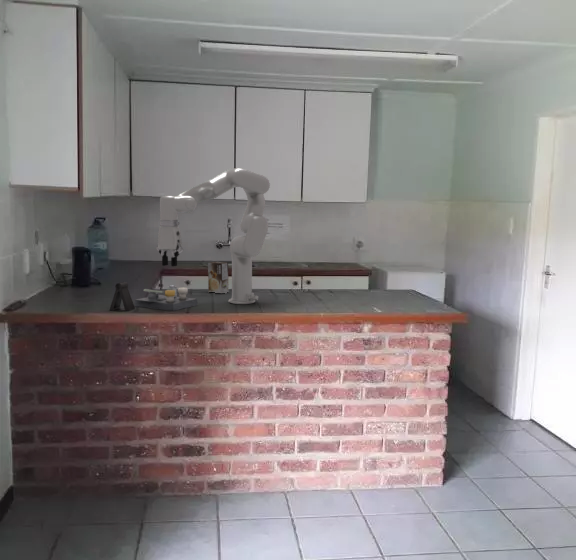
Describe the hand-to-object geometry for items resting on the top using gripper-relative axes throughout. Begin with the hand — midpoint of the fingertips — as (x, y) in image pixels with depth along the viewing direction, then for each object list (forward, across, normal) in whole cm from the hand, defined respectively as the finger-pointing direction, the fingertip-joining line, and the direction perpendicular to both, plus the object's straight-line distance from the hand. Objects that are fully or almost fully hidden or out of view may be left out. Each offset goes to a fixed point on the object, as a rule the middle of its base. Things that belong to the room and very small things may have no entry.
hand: (169, 265), depth 261 cm
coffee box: (+20, +8, -49) cm, 53 cm away
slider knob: (+16, +7, -10) cm, 20 cm away
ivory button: (+17, 0, -9) cm, 19 cm away
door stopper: (+20, +16, +13) cm, 28 cm away
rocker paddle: (+14, +14, -4) cm, 20 cm away
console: (+19, +6, -4) cm, 21 cm away
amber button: (+17, 0, 0) cm, 17 cm away
